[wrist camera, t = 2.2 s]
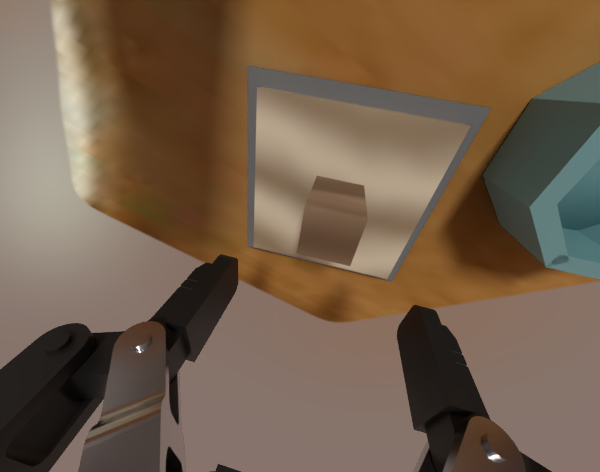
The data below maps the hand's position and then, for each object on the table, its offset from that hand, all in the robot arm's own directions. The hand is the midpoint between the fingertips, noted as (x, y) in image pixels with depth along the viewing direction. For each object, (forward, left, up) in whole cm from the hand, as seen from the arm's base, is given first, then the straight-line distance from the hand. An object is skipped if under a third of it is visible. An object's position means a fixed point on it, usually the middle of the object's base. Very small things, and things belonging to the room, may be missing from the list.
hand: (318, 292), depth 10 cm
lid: (0, 0, -10) cm, 10 cm away
